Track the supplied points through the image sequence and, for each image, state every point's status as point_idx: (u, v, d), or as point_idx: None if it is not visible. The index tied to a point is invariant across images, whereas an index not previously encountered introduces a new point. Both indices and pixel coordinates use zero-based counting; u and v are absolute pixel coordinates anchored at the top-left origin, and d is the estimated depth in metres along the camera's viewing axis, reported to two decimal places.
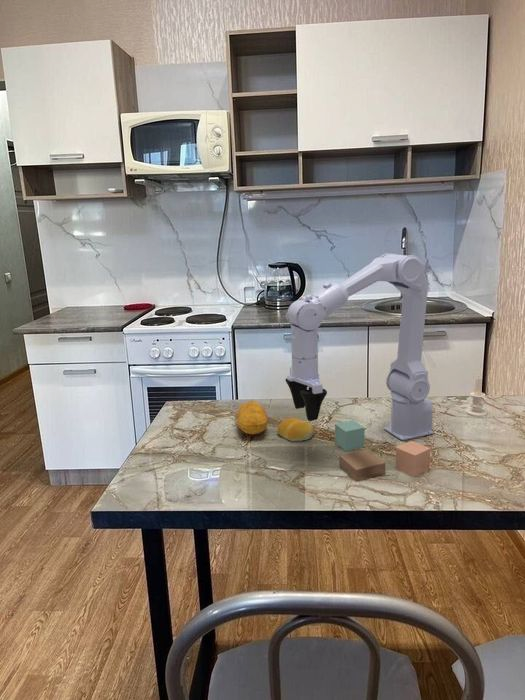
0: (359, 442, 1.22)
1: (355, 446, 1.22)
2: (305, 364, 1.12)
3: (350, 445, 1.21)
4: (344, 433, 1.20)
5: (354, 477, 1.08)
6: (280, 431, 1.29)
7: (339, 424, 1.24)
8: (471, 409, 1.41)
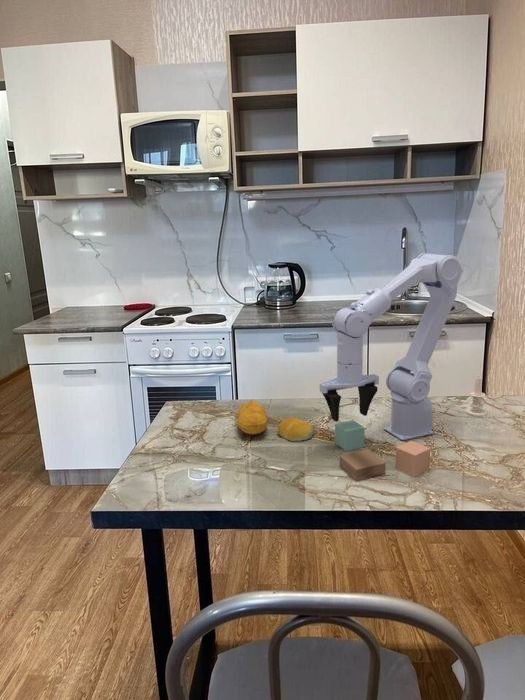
0: (359, 442, 1.22)
1: (355, 446, 1.22)
2: (337, 366, 1.19)
3: (350, 445, 1.21)
4: (344, 433, 1.20)
5: (354, 477, 1.08)
6: (280, 431, 1.29)
7: (339, 424, 1.24)
8: (471, 409, 1.41)
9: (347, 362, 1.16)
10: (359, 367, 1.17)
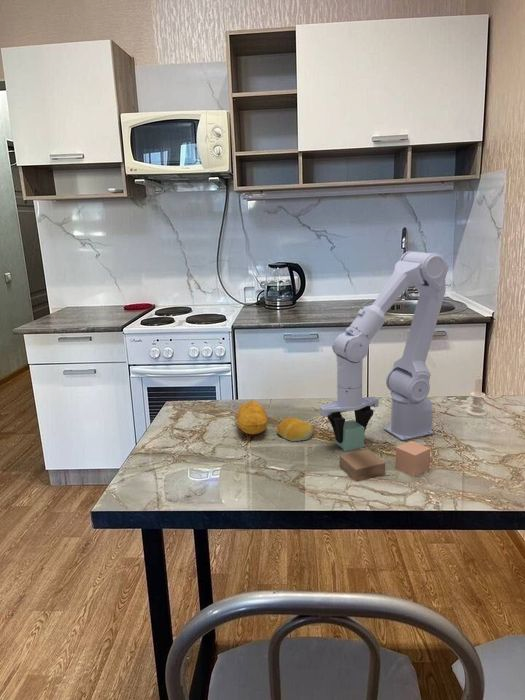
0: (359, 441, 1.22)
1: (355, 446, 1.22)
2: (337, 389, 1.21)
3: (350, 445, 1.21)
4: (344, 433, 1.20)
5: (354, 477, 1.08)
6: (280, 431, 1.29)
7: None
8: (471, 409, 1.41)
9: (347, 386, 1.18)
10: (359, 391, 1.18)
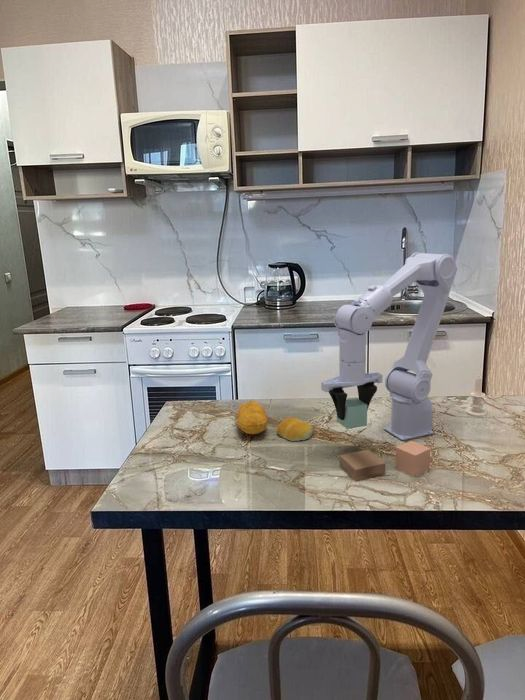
0: (362, 420, 1.17)
1: (357, 424, 1.17)
2: None
3: (352, 423, 1.17)
4: (346, 410, 1.16)
5: (353, 477, 1.08)
6: (279, 431, 1.30)
7: None
8: (471, 409, 1.41)
9: (352, 360, 1.13)
10: (362, 365, 1.14)
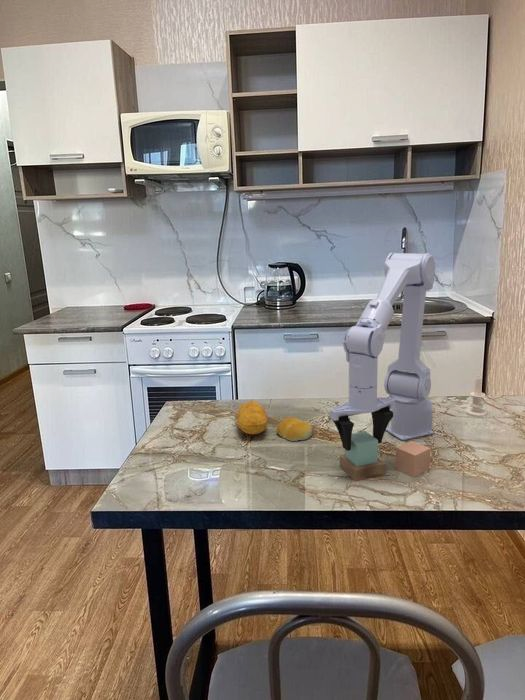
0: (372, 456, 1.09)
1: (367, 461, 1.09)
2: (349, 389, 1.07)
3: (362, 460, 1.08)
4: (356, 446, 1.08)
5: (353, 477, 1.08)
6: (279, 431, 1.30)
7: None
8: (471, 409, 1.41)
9: (368, 385, 1.04)
10: (374, 391, 1.05)
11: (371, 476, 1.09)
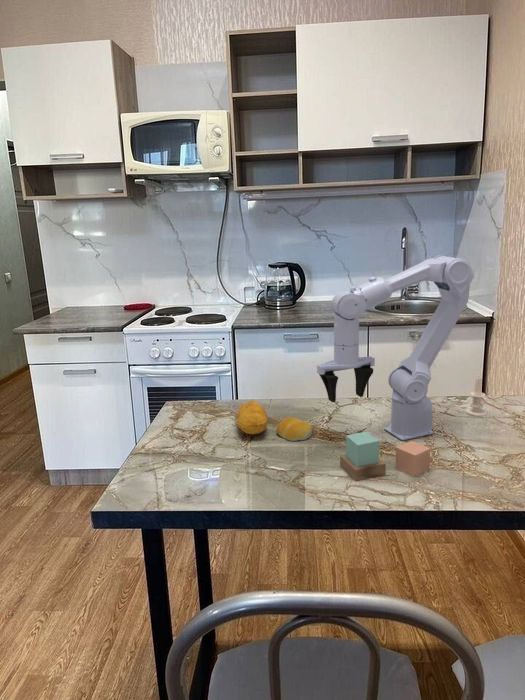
0: (373, 457, 1.09)
1: (368, 461, 1.09)
2: (334, 348, 1.22)
3: (362, 460, 1.08)
4: (356, 447, 1.07)
5: (354, 477, 1.08)
6: (279, 431, 1.30)
7: (351, 436, 1.11)
8: (471, 409, 1.41)
9: (341, 343, 1.19)
10: (355, 348, 1.20)
11: (371, 476, 1.09)
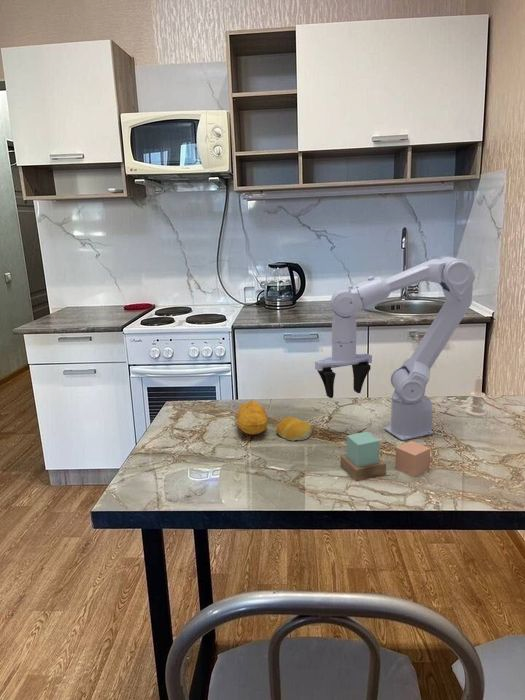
0: (374, 456, 1.09)
1: (369, 461, 1.09)
2: (332, 345, 1.24)
3: (363, 460, 1.08)
4: (357, 447, 1.07)
5: (354, 477, 1.08)
6: (279, 430, 1.30)
7: (351, 436, 1.11)
8: (471, 409, 1.41)
9: (337, 340, 1.22)
10: (353, 345, 1.22)
11: (372, 476, 1.09)
